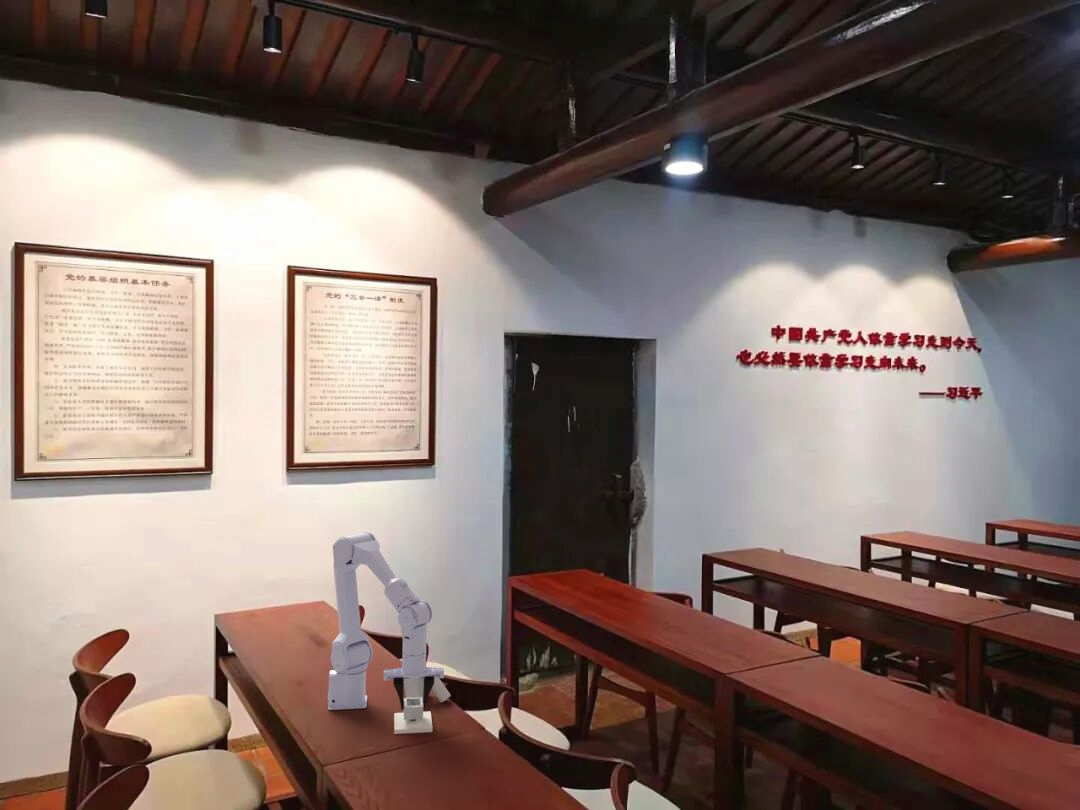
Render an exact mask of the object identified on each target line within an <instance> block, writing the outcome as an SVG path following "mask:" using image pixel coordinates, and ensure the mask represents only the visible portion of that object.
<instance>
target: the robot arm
mask: <svg viewBox="0 0 1080 810" xmlns="http://www.w3.org/2000/svg"><path fill="white" fill-rule="evenodd" d="M332 555H333V573H334V586H335V587H334V588H335V595H336V598H335V599H336V609H337V619H338V629H339V633H338V635H337V636H336V638H335V639H334V640H333V641H332V642H331V654H330V663H331V667H332V669H331V670H329V674H328V675H329V676H328V691H327V700H328V701H327V702H328V703H327V706H328V707H327V709H328V710H329V711H333V710H334V711H336V710H355V709H356V710H357V709H358V710H359V709H366V708H367V706H368V705H367V704H368V695H367V694H366V690H367V689H366V684H367V683H366V682H367V680H366V679H367V678H366V674H367V671H366V670H367V668H369V663H370V662H371V661H372V660H373V654H374V652H373V648H372V645H371V642H370V637H369V635H368V634H367V633H366V632H364V631H363V630H362V626H361V623H362V622H361V615H360V604H359V594H358V584H357V572H356V571H357V569H359V568H358V567H359V566H360V565H363V566H367V568H368V569H369V570H370V571H371V572H372V573H373V574H374V576H375V577H376V578H377V579H378V580H379V581H380V583H382V585H383V586H384V590H383V591H384V592H383V593H384V595H385V596H386V598H387V600H388V601H389V603H391V605H392V606H393V607H394V609H395V611H396V612H397V613H398V615H397V621H398V623H399V626H400V633H401V635H402V655H401V656H402V660H401V661H402V663H401V667H398V668H391V669H384V670H383V681H384V682H385V681H387V682H388V681H389V680H393V683H392V684H393V687H394V688H395V691H396V693H397V696H398V699H399V703H400V710H402V711H403V710H404V698H405V697H404V694H405V688H404V679H417V678H424V685H423V710H425V709H426V708H427V704H428V703H427V702H428V698H429V697H430V696H429V695H430V693H431V691H432V687H433V685H434V678H436V677H439V679H444V677H445V668H444V667H431V666H427V632H428V631H427V630H428V629H427V628H428V627H427V626H428V625H427V624H429V623H430V621H431V620H432V616H433V611H432V608H431V605H429V602H428V601H426V600H423V599H421V598H419V597H417V596H416V594H415V593H414V592H413V590H412V589H411V588H410V586H409V585H408V584H409V583H408V581H406V580H404V578H398V577H396V575H395V574H394V572H393V570H392V568H391V567H390V565H389V564H388V563H387V560H386V559H385V558H384V556H383V554H382V553H381V551H380V542H379V541H378V540H377V539H376V537H375V535H374V534H373V533H371V532H369V531H366V532H362V533H358V534H352V535H347V536H340V537H339V538H338V539H336V541H335V542H334V543H333V545H332Z"/></svg>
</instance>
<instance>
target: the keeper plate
mask: <svg viewBox="0 0 1080 810" xmlns="http://www.w3.org/2000/svg"><path fill="white" fill-rule="evenodd" d="M411 706H416V705H411ZM393 716H394V717H393V721H394V723H393V724H394V725H393V728H394V729H393V733H394V735H400V734H417V733H419V734H420V733H432V732H433V721H432V713H431V710H430V711H429V710H428V711H423V719H410V720H404V712H395V713H394V714H393Z"/></svg>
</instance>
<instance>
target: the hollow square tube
mask: <svg viewBox="0 0 1080 810" xmlns="http://www.w3.org/2000/svg"><path fill="white" fill-rule="evenodd" d="M411 705H416V706H411ZM402 711H403V712H402V713H404V720H410V719H423V712H424V709H423V697H414V698H407V697H404V710H402Z"/></svg>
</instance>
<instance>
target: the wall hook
mask: <svg viewBox="0 0 1080 810" xmlns="http://www.w3.org/2000/svg"><path fill="white" fill-rule="evenodd" d="M423 685H424V678H417V679H404V694H405V696H406V697H405V698H414V697H423ZM431 691H433V692H434V694H435V696H436V697H437V699H438V701H440V703H441V704H442V703H443V702H445V701H446V700H448V699H449V698H450V697H451V693H450V692H449V691H448V689H447V688H446V686H445V685H444V683H443V681H441V678H439V677H436V678H434V685H433V687H432V689H431Z"/></svg>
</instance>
